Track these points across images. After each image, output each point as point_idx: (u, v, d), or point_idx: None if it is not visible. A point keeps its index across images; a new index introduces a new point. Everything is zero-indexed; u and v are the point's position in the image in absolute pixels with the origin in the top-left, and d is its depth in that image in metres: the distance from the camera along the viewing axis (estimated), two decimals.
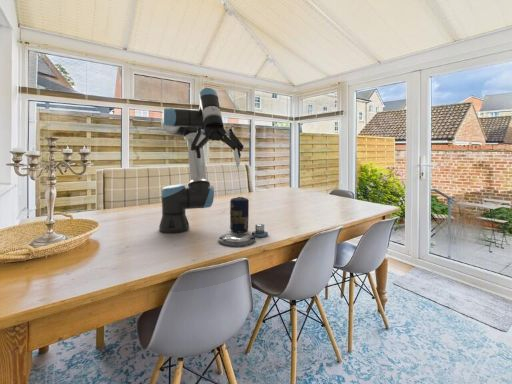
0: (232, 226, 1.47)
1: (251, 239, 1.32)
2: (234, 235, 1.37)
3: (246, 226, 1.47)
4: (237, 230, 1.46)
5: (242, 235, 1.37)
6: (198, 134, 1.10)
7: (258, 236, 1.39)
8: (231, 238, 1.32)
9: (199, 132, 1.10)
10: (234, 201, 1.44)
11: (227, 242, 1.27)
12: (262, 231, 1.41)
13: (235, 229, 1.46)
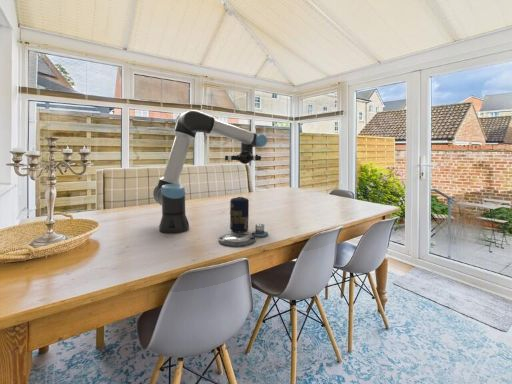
0: (232, 226, 1.47)
1: (251, 239, 1.32)
2: (234, 235, 1.37)
3: (246, 226, 1.47)
4: (237, 230, 1.46)
5: (242, 235, 1.37)
6: None
7: (258, 236, 1.39)
8: (231, 238, 1.32)
9: None
10: (234, 201, 1.44)
11: (227, 242, 1.27)
12: (262, 231, 1.41)
13: (235, 229, 1.46)
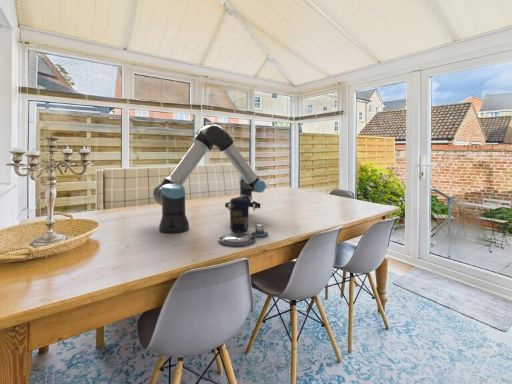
0: (232, 226, 1.47)
1: (251, 239, 1.32)
2: (234, 235, 1.37)
3: (246, 226, 1.47)
4: (237, 230, 1.46)
5: (242, 235, 1.37)
6: None
7: (258, 236, 1.39)
8: (231, 238, 1.32)
9: None
10: (234, 201, 1.44)
11: (227, 242, 1.27)
12: (262, 231, 1.41)
13: (235, 229, 1.46)
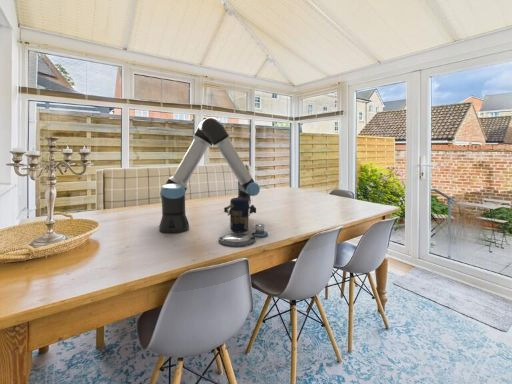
0: (232, 226, 1.47)
1: (251, 239, 1.32)
2: (234, 235, 1.37)
3: (246, 226, 1.47)
4: (237, 230, 1.46)
5: (242, 235, 1.37)
6: None
7: (258, 236, 1.39)
8: (231, 238, 1.32)
9: None
10: (234, 201, 1.44)
11: (227, 242, 1.27)
12: (262, 231, 1.41)
13: (235, 229, 1.46)
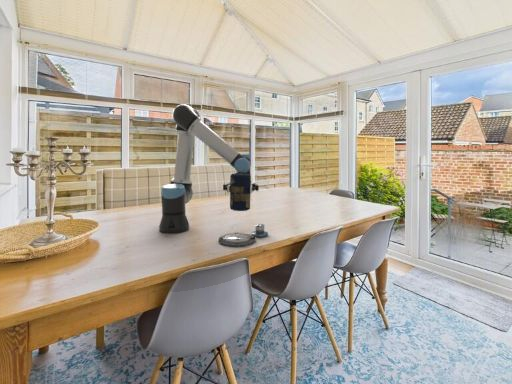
0: (232, 204, 1.31)
1: (251, 239, 1.32)
2: (234, 235, 1.37)
3: (248, 204, 1.32)
4: (238, 209, 1.30)
5: (242, 235, 1.37)
6: None
7: (258, 236, 1.39)
8: (231, 238, 1.32)
9: None
10: (235, 176, 1.29)
11: (227, 242, 1.27)
12: (262, 231, 1.41)
13: (236, 207, 1.31)
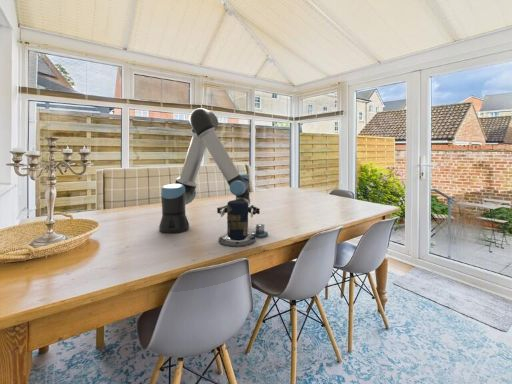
0: (229, 232, 1.30)
1: (251, 239, 1.32)
2: None
3: (245, 232, 1.30)
4: (235, 237, 1.29)
5: None
6: None
7: (258, 236, 1.39)
8: (231, 238, 1.32)
9: None
10: (232, 204, 1.27)
11: (227, 242, 1.27)
12: (262, 231, 1.41)
13: (233, 235, 1.29)
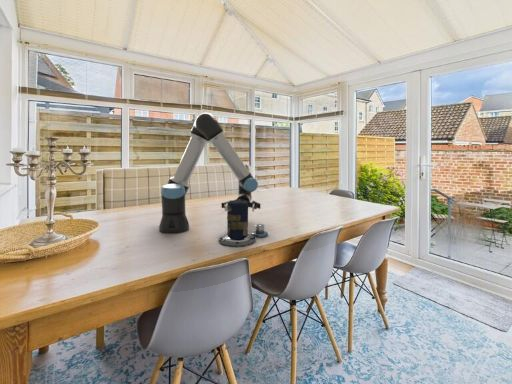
0: (229, 232, 1.30)
1: (251, 239, 1.32)
2: None
3: (245, 232, 1.30)
4: (235, 237, 1.29)
5: None
6: None
7: (258, 236, 1.39)
8: (231, 238, 1.32)
9: None
10: (232, 204, 1.27)
11: (227, 242, 1.27)
12: (262, 231, 1.41)
13: (233, 235, 1.29)
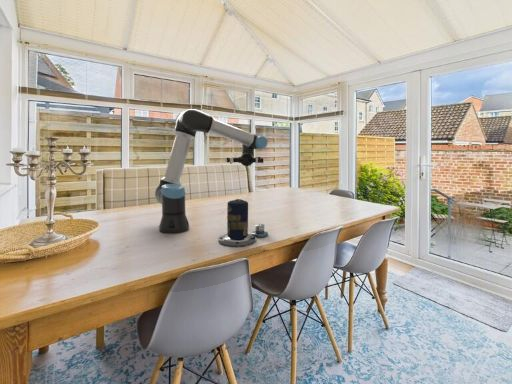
0: (229, 232, 1.30)
1: (251, 239, 1.32)
2: None
3: (245, 232, 1.30)
4: (235, 237, 1.29)
5: None
6: None
7: (258, 236, 1.39)
8: (231, 238, 1.32)
9: None
10: (232, 204, 1.27)
11: (227, 242, 1.27)
12: (262, 231, 1.41)
13: (233, 235, 1.29)
